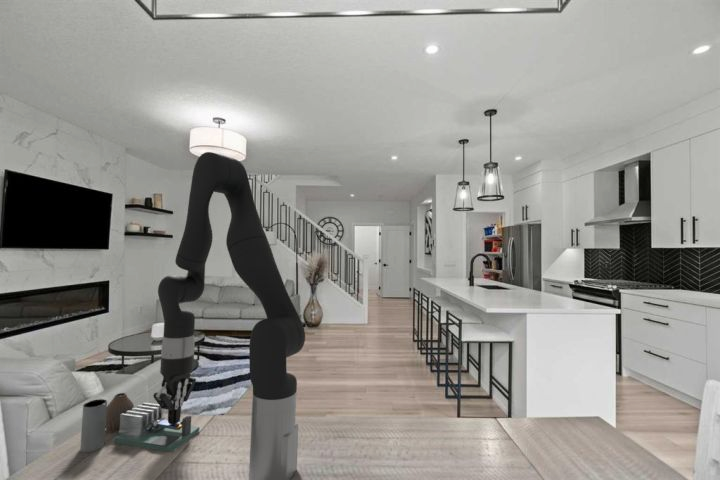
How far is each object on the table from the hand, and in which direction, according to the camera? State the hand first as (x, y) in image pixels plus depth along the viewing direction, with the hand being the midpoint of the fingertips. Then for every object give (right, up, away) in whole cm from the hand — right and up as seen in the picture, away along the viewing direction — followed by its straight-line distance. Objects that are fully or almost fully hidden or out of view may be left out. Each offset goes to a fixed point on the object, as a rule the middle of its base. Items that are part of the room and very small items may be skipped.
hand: (174, 422), depth 90 cm
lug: (+3, -2, -1) cm, 4 cm away
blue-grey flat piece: (-1, -1, 0) cm, 2 cm away
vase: (-16, -3, +3) cm, 17 cm away
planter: (-16, -3, -6) cm, 17 cm away
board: (-4, -3, 0) cm, 5 cm away
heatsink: (-8, -2, 0) cm, 8 cm away
